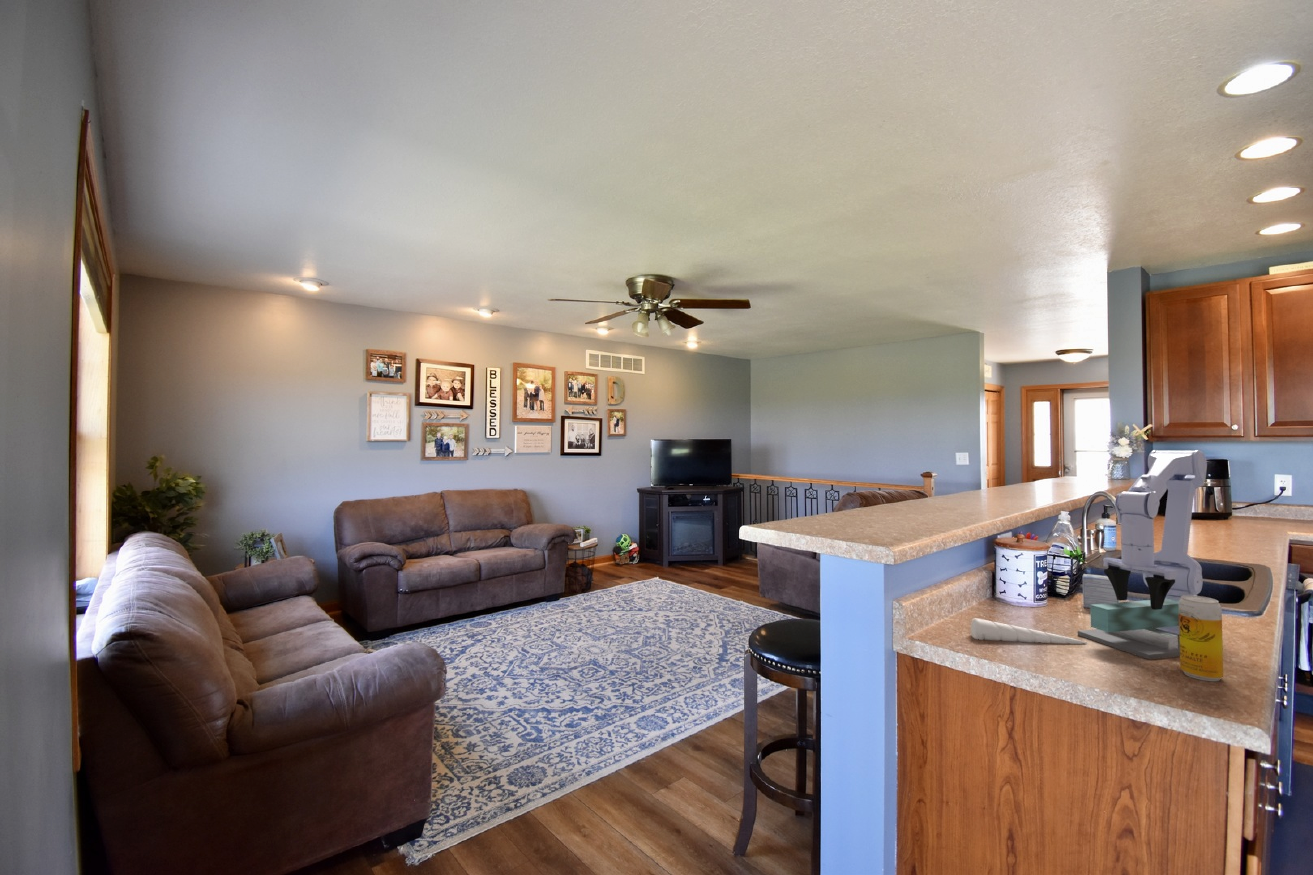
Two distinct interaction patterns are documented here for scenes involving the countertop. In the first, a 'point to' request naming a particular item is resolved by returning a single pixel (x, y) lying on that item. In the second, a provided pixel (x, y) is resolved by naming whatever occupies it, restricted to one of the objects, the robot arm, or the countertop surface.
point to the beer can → (1201, 637)
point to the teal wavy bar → (1133, 615)
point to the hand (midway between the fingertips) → (1138, 604)
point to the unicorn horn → (1014, 633)
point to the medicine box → (1097, 590)
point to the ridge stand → (1138, 642)
